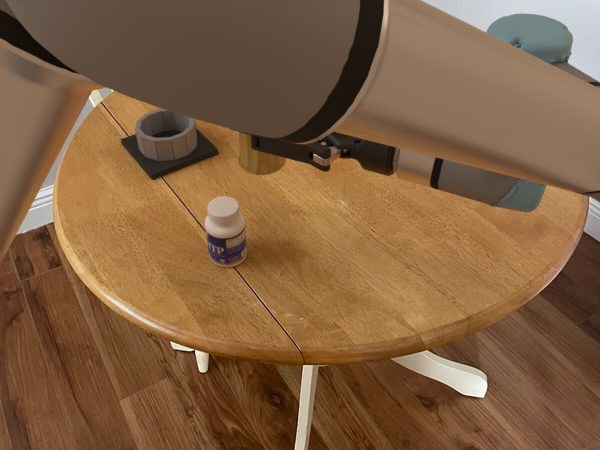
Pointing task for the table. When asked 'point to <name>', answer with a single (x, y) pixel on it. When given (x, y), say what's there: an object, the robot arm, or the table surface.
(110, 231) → the table surface
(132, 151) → the socket pad
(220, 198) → the pill bottle
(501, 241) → the table surface
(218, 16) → the robot arm
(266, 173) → the vase
